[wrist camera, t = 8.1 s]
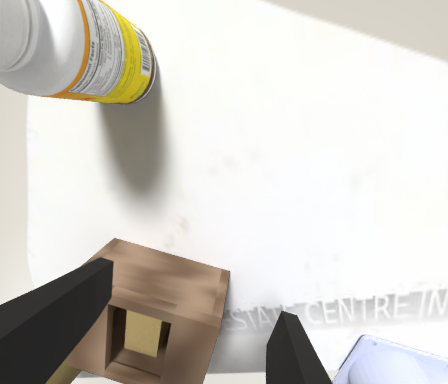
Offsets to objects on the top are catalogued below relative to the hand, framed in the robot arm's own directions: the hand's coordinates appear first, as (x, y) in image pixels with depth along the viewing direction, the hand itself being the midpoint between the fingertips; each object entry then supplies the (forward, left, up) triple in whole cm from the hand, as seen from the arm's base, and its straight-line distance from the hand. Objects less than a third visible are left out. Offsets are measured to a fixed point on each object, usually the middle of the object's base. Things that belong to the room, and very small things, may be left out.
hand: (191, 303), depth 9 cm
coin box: (+4, +12, -10) cm, 16 cm away
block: (+4, +11, -10) cm, 16 cm away
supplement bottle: (+10, -9, -11) cm, 17 cm away
